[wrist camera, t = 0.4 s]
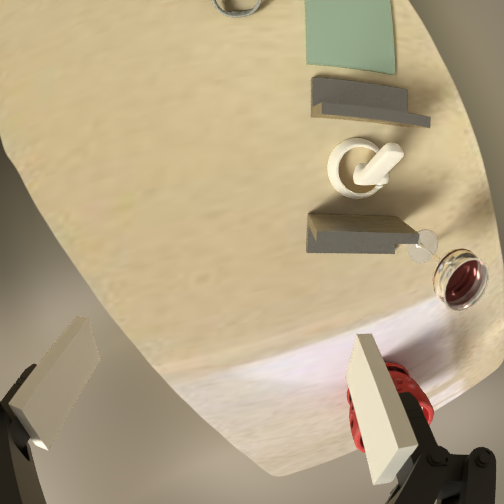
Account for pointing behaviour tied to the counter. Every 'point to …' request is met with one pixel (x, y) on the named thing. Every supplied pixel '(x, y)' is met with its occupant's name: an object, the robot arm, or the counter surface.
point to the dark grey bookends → (368, 110)
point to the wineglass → (452, 272)
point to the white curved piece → (364, 166)
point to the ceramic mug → (237, 14)
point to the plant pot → (402, 385)
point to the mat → (350, 34)
